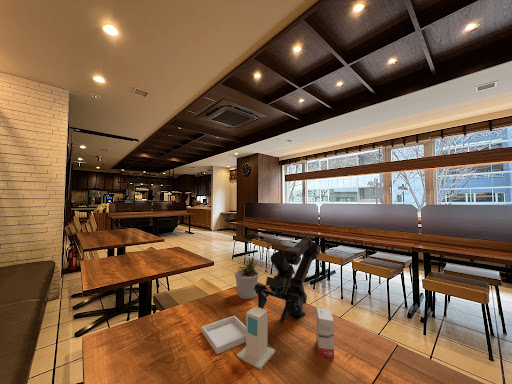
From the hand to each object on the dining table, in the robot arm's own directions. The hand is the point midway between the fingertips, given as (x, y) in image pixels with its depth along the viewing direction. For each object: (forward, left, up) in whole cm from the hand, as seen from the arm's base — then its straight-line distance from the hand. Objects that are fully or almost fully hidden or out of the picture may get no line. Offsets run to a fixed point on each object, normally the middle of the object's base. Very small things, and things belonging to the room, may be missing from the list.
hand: (269, 318), depth 75 cm
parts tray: (+9, -13, -8) cm, 18 cm away
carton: (+8, +2, -7) cm, 11 cm away
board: (+8, +2, -8) cm, 11 cm away
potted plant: (-18, -33, -8) cm, 39 cm away
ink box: (-12, +15, -8) cm, 21 cm away
